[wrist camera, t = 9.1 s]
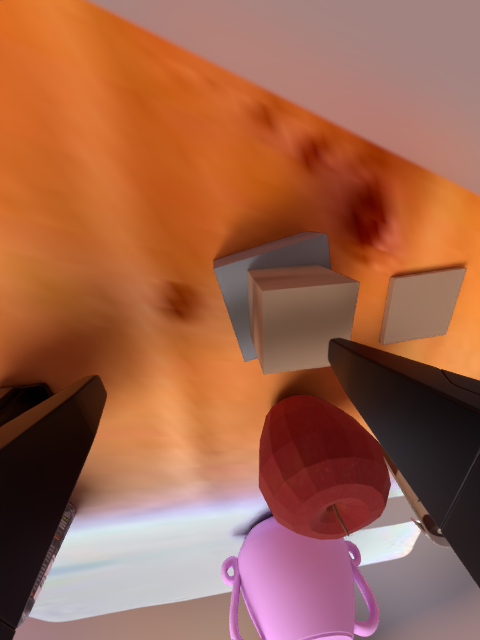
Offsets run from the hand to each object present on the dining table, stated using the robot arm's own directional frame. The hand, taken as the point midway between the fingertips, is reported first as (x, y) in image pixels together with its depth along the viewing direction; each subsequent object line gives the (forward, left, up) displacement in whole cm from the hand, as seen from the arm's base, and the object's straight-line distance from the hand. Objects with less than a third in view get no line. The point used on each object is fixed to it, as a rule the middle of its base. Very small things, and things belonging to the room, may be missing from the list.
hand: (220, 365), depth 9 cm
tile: (-5, -20, -12) cm, 23 cm away
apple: (-16, -7, -12) cm, 21 cm away
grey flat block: (-1, -5, -12) cm, 13 cm away
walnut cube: (-1, -5, -8) cm, 9 cm away
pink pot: (-46, -5, -12) cm, 48 cm away
